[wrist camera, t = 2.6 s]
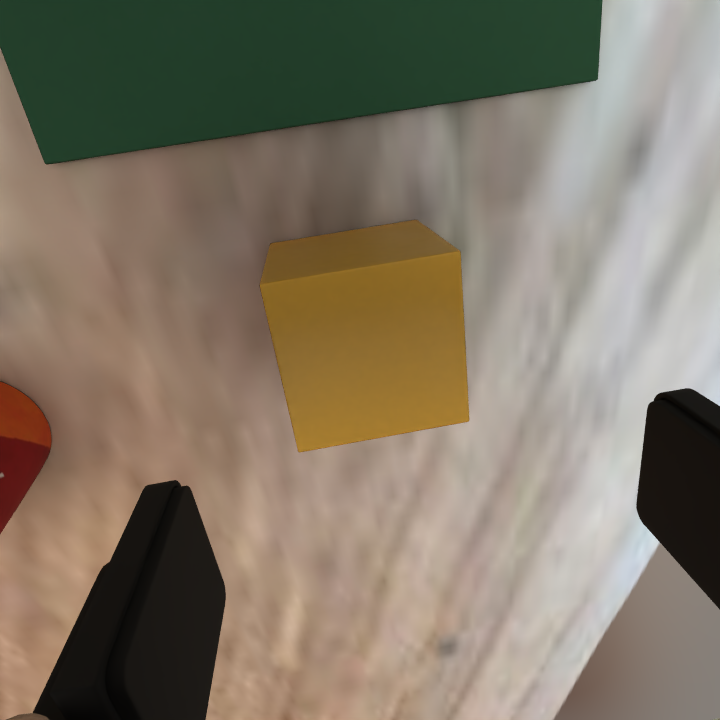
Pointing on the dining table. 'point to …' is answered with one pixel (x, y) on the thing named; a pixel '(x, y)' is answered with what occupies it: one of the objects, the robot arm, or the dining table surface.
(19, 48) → the towel
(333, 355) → the yellow block
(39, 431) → the paper cup
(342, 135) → the dining table surface
